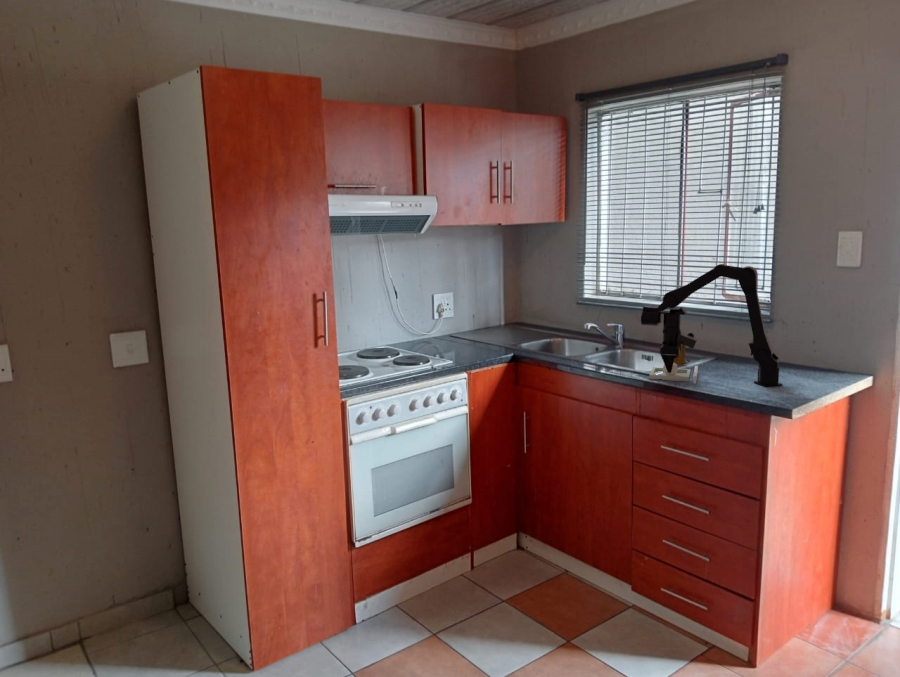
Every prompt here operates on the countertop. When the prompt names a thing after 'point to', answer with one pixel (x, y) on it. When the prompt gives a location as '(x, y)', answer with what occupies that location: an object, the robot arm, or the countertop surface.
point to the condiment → (681, 357)
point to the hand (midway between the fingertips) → (670, 369)
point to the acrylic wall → (695, 374)
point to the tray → (679, 376)
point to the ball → (674, 369)
